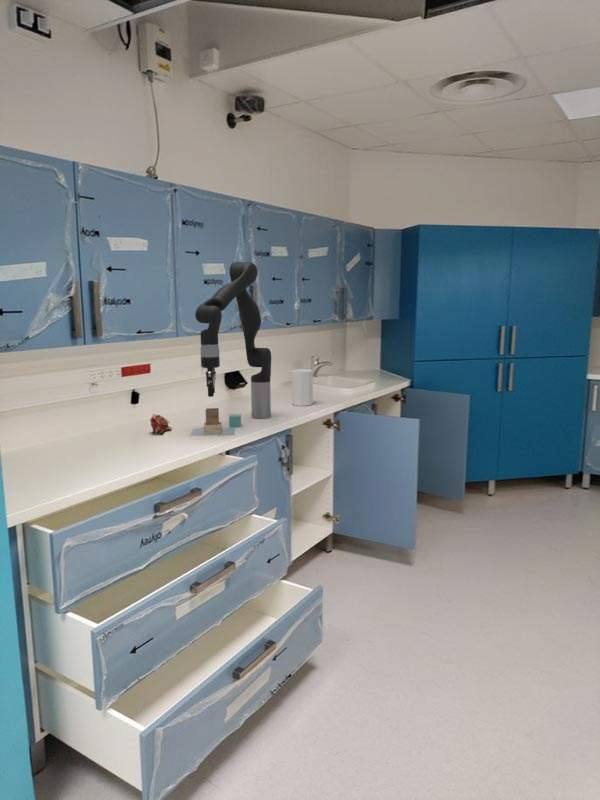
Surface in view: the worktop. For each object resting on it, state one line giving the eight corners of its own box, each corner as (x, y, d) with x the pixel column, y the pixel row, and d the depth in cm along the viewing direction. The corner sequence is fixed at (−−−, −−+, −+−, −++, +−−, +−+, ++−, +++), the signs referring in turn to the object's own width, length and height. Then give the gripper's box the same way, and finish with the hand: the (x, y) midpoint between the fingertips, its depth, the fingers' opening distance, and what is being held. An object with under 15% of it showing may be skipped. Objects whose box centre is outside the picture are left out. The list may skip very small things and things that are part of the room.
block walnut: (206, 422, 242) (206, 408, 241) (218, 422, 242) (218, 408, 241) (206, 425, 237) (205, 410, 236) (218, 424, 237) (217, 410, 236)
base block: (204, 430, 243) (204, 422, 243) (221, 430, 244) (221, 421, 243) (203, 434, 236) (203, 425, 236) (221, 434, 237) (220, 425, 236)
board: (193, 431, 248) (192, 428, 248) (235, 430, 250) (235, 427, 250) (189, 438, 235) (189, 435, 234) (234, 437, 236) (234, 434, 236)
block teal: (229, 427, 255) (229, 414, 254) (241, 427, 256) (240, 414, 255) (229, 430, 250) (229, 416, 249) (240, 429, 251) (240, 416, 250)
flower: (144, 432, 239) (155, 416, 238) (144, 423, 247) (154, 408, 246) (164, 442, 243) (175, 428, 242) (163, 434, 251) (173, 419, 250)
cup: (303, 402, 320) (303, 368, 317) (317, 404, 311) (317, 370, 308) (287, 404, 313) (287, 370, 310) (300, 407, 304) (300, 372, 301)
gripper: (218, 357, 228) (219, 397, 231) (220, 353, 242) (221, 391, 245) (199, 357, 227) (200, 398, 230) (202, 353, 241) (203, 392, 244)
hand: (211, 394), depth 238 cm, fingers open, 8 cm apart
